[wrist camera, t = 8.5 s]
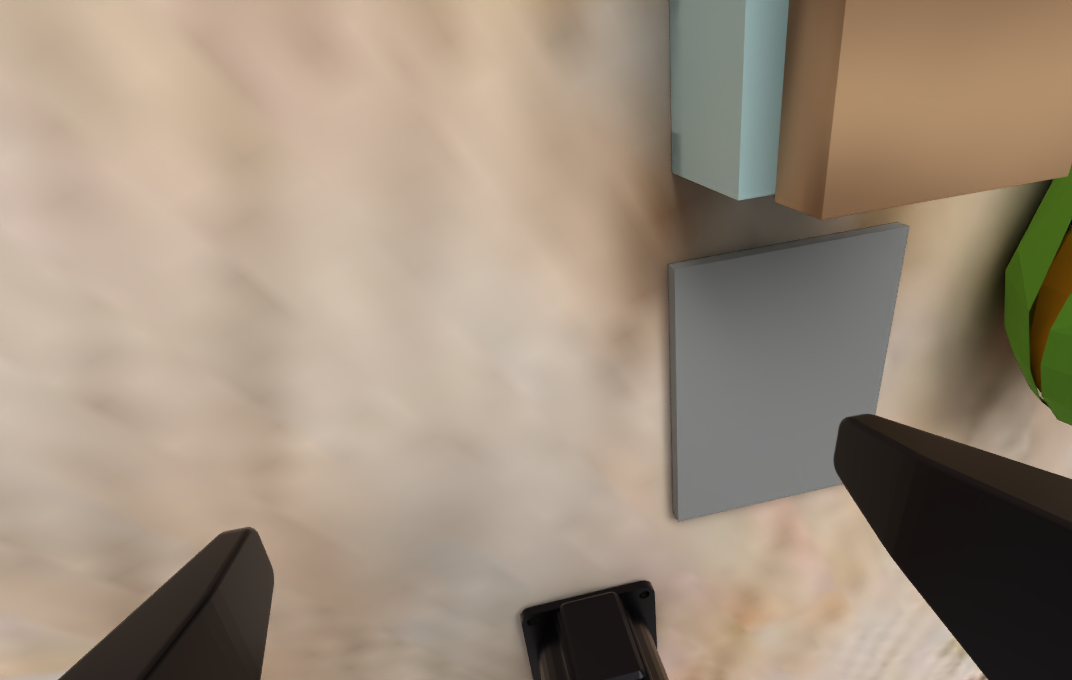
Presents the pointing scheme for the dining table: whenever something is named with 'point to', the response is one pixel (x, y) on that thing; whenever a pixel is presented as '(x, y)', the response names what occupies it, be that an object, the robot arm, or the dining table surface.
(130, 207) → the dining table surface
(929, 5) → the board
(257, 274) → the dining table surface
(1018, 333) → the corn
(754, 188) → the dish
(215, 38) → the dining table surface
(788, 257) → the mat
